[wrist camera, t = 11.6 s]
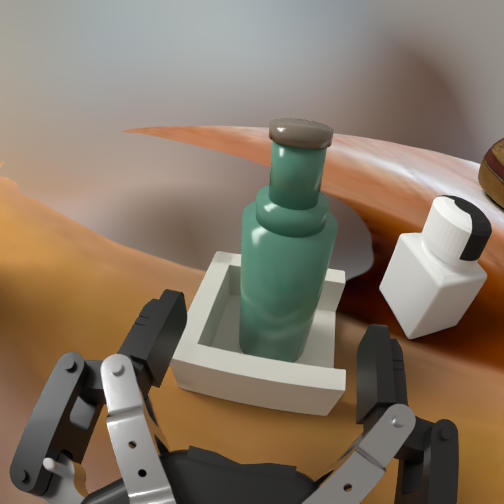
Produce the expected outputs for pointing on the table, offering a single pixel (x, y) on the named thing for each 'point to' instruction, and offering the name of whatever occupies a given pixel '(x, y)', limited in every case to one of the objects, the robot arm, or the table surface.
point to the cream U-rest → (251, 367)
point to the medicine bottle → (437, 268)
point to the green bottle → (286, 244)
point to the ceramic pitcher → (493, 173)
